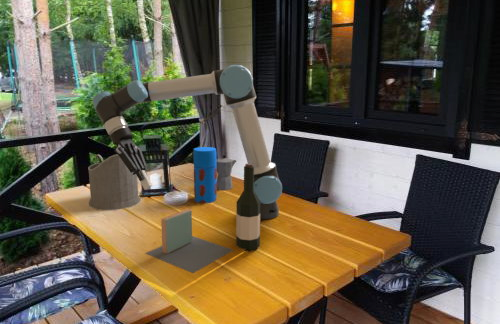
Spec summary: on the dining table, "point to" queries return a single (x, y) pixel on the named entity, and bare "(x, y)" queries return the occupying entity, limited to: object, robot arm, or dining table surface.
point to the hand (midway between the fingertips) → (148, 187)
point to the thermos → (205, 174)
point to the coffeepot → (224, 173)
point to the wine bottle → (248, 214)
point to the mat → (192, 254)
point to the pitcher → (112, 185)
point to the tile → (176, 230)
